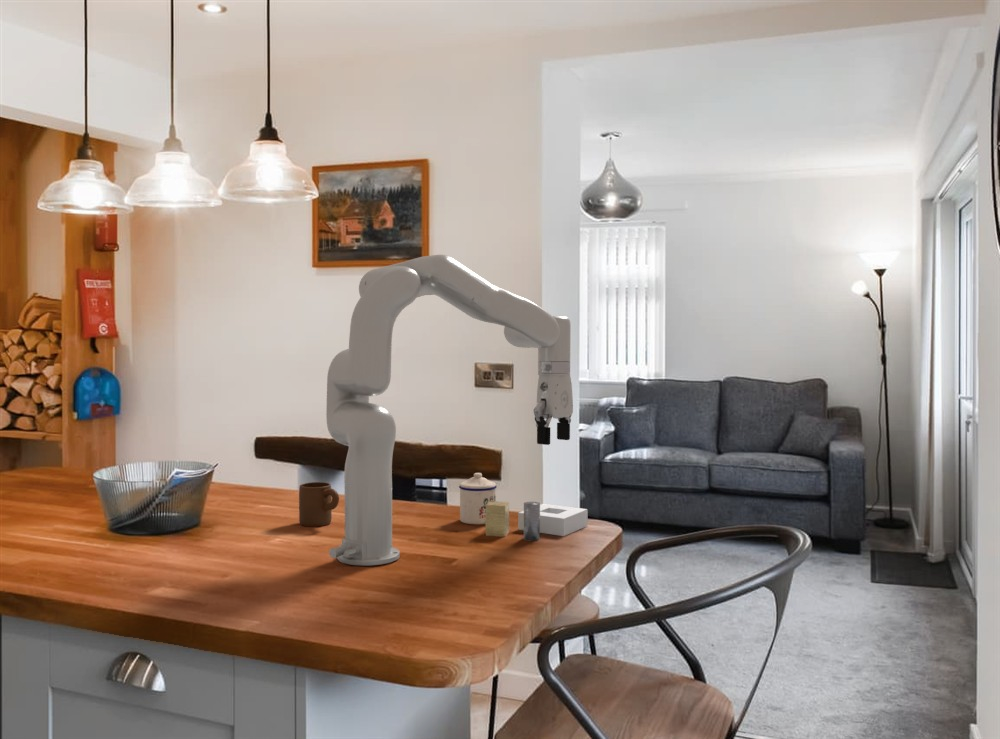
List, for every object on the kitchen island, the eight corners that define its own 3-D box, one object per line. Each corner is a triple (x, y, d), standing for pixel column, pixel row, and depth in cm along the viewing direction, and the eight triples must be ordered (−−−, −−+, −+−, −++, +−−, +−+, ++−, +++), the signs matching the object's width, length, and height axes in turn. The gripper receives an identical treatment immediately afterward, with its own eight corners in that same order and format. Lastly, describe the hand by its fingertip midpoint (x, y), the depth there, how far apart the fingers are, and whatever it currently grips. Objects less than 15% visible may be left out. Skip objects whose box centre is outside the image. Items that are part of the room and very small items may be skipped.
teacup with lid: (484, 526, 205) (484, 477, 204) (451, 522, 209) (451, 474, 209) (508, 517, 215) (509, 470, 215) (477, 513, 220) (477, 467, 219)
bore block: (564, 536, 196) (564, 518, 196) (518, 529, 202) (518, 512, 202) (587, 525, 206) (587, 509, 206) (543, 519, 212) (543, 503, 212)
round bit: (534, 541, 191) (534, 505, 190) (520, 539, 193) (520, 503, 192) (542, 538, 194) (542, 502, 193) (528, 536, 196) (528, 501, 195)
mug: (350, 525, 205) (350, 486, 205) (324, 531, 200) (324, 491, 199) (318, 518, 213) (317, 480, 213) (292, 524, 207) (292, 485, 207)
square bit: (505, 536, 195) (505, 505, 195) (485, 535, 196) (485, 505, 196) (509, 532, 200) (509, 501, 199) (489, 531, 201) (490, 501, 200)
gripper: (550, 370, 193) (550, 447, 194) (585, 367, 208) (584, 439, 208) (521, 370, 197) (521, 445, 198) (557, 367, 212) (556, 436, 212)
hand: (553, 441), depth 203 cm, fingers open, 9 cm apart
